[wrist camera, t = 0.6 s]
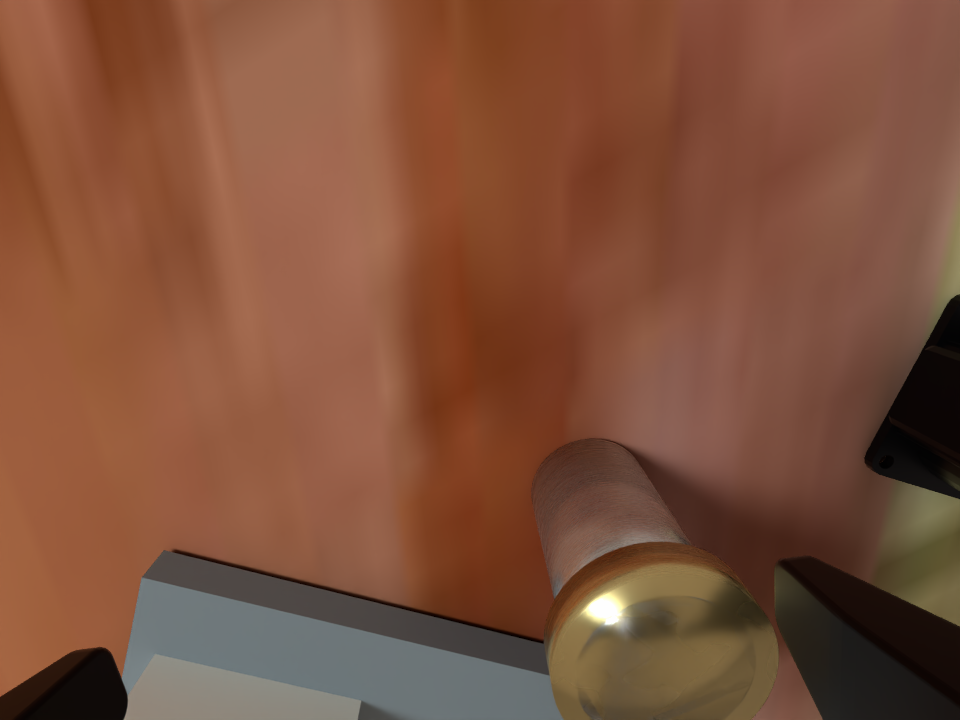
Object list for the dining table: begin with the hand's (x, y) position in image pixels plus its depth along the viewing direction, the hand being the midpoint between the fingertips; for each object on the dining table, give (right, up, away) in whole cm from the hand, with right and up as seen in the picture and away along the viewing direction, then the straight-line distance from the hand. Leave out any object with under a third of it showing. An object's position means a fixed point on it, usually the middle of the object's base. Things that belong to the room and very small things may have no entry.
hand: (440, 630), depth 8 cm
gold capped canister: (+4, -1, +13) cm, 13 cm away
